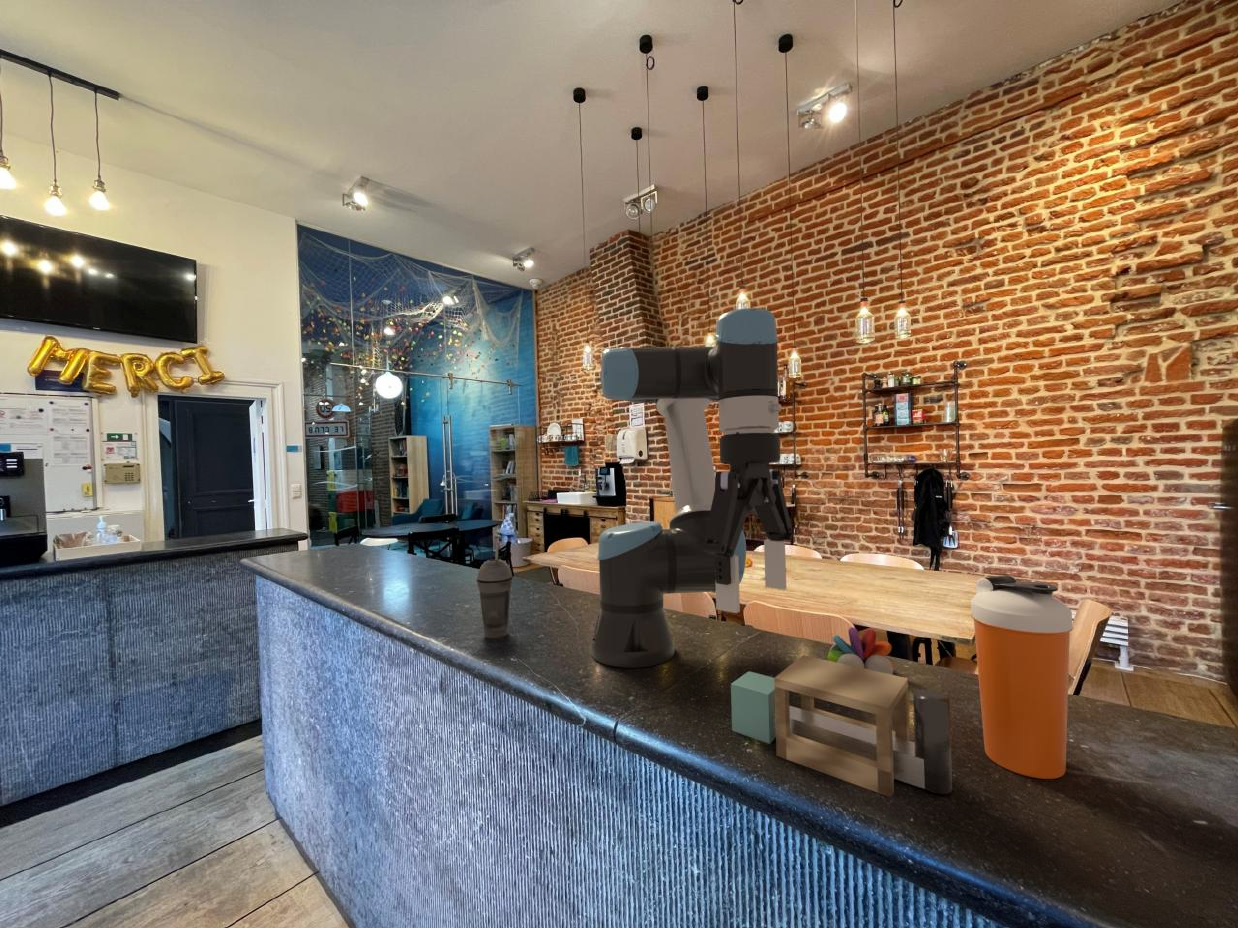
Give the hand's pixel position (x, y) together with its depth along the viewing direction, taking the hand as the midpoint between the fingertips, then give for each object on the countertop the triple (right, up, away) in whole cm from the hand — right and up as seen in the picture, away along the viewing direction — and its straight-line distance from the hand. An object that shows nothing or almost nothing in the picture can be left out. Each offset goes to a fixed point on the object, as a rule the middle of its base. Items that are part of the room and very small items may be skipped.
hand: (753, 598), depth 65 cm
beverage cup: (-43, -18, +40) cm, 61 cm away
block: (+1, -17, 0) cm, 17 cm away
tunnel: (+8, -16, -7) cm, 20 cm away
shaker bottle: (+28, -16, -8) cm, 33 cm away
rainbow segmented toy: (+21, -16, +16) cm, 31 cm away
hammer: (+9, -16, -7) cm, 20 cm away
